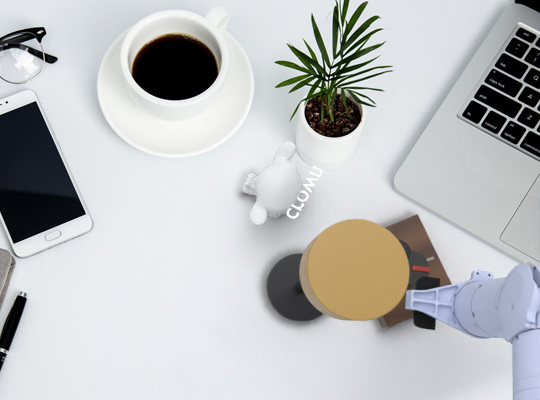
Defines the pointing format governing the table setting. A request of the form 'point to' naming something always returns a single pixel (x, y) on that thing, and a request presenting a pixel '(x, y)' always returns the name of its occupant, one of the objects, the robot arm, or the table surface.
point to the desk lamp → (342, 274)
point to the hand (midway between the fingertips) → (449, 309)
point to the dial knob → (417, 267)
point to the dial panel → (420, 242)
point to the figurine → (277, 187)
